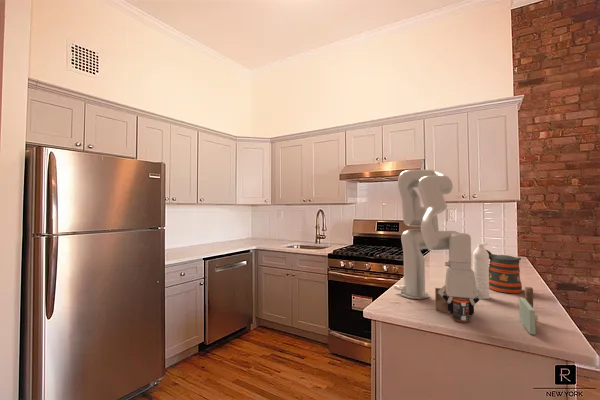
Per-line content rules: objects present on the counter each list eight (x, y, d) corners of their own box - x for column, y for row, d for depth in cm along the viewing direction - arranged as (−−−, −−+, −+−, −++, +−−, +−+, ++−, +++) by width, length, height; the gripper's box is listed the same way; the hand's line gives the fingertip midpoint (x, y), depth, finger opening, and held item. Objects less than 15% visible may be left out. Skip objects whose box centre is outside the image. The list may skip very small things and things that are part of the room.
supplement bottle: (469, 324, 113) (468, 293, 113) (451, 321, 117) (450, 291, 117) (470, 319, 118) (469, 289, 119) (452, 316, 122) (452, 287, 122)
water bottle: (486, 300, 141) (485, 244, 142) (471, 296, 146) (470, 243, 147) (493, 296, 147) (492, 243, 147) (478, 293, 152) (477, 241, 152)
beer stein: (477, 289, 158) (476, 250, 158) (479, 283, 170) (478, 246, 171) (523, 295, 148) (522, 253, 148) (521, 288, 160) (521, 249, 160)
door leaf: (539, 335, 103) (539, 310, 103) (529, 333, 104) (529, 309, 104) (528, 319, 117) (528, 298, 117) (519, 318, 118) (519, 297, 118)
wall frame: (436, 311, 127) (435, 282, 127) (435, 309, 130) (435, 280, 130) (534, 321, 116) (533, 288, 116) (531, 318, 119) (530, 286, 119)
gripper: (435, 266, 117) (436, 314, 117) (488, 269, 111) (489, 320, 111) (434, 262, 124) (435, 308, 124) (483, 265, 118) (484, 313, 118)
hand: (460, 313), depth 118 cm, fingers closed on supplement bottle, 6 cm apart
